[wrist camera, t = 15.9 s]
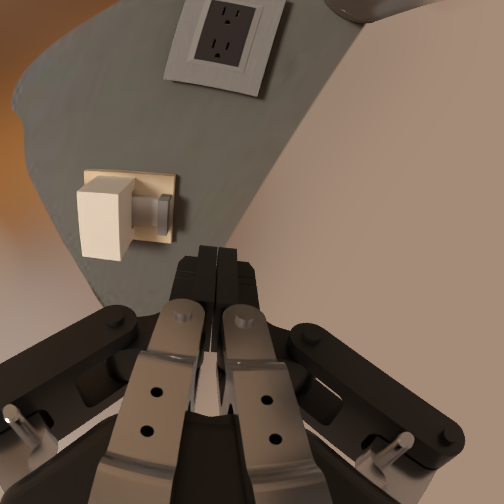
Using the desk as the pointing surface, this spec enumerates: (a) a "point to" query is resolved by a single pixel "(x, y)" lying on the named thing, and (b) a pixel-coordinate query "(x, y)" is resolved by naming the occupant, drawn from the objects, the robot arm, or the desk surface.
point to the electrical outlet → (224, 43)
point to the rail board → (147, 202)
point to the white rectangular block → (106, 216)
